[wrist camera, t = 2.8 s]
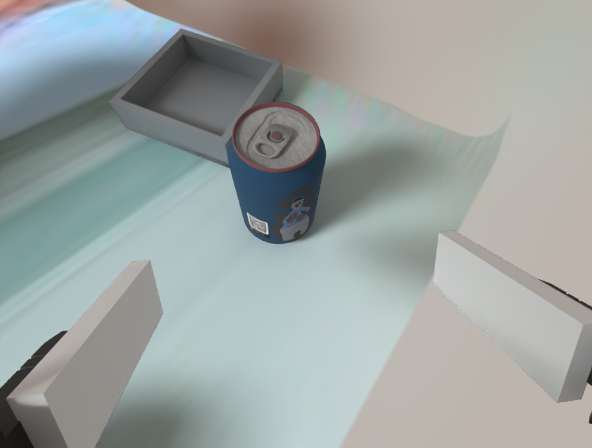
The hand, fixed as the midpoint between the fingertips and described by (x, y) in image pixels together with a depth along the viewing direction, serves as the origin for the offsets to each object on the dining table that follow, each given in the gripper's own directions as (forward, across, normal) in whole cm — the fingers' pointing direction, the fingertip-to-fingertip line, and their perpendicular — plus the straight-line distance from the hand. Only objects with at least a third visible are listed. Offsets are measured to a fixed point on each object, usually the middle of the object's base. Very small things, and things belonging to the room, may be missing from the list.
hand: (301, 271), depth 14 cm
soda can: (+17, 0, -3) cm, 17 cm away
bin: (+28, -8, +8) cm, 30 cm away
